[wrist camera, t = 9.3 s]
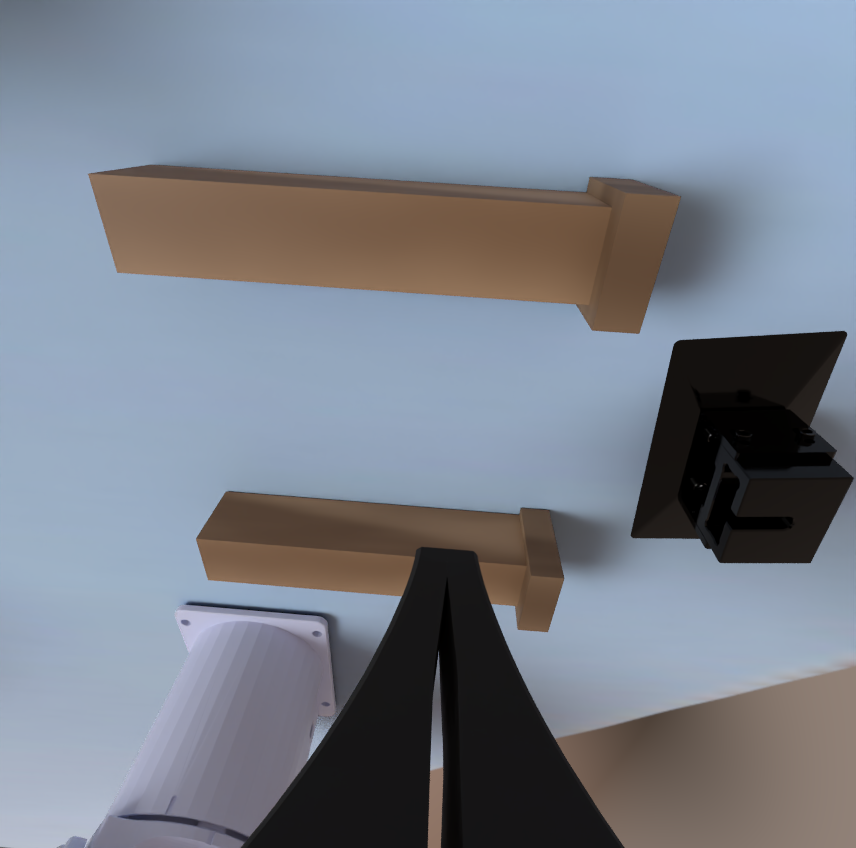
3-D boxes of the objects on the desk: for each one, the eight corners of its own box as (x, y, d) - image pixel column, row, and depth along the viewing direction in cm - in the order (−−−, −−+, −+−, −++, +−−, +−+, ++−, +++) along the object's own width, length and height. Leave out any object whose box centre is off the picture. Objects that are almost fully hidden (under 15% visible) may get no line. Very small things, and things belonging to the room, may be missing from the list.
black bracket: (650, 286, 16) (713, 339, 12) (889, 275, 15) (1038, 326, 11) (604, 552, 22) (634, 644, 18) (770, 552, 22) (838, 647, 18)
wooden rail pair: (536, 561, 22) (547, 632, 19) (236, 537, 22) (201, 602, 19) (632, 179, 14) (681, 196, 11) (146, 149, 14) (58, 157, 11)
